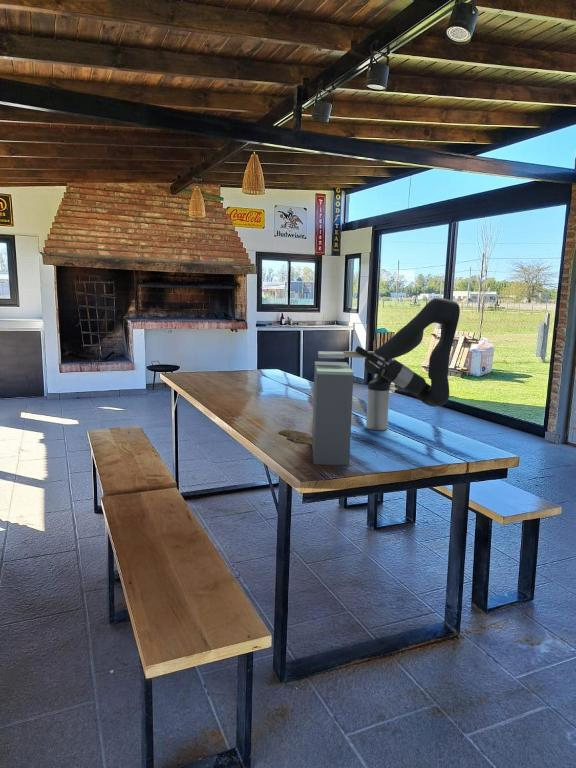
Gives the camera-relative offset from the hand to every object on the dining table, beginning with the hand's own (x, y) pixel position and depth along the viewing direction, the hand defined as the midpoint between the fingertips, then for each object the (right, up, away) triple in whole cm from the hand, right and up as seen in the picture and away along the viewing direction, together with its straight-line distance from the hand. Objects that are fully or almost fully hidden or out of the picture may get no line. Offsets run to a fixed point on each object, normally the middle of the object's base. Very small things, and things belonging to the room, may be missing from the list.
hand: (356, 348), depth 195 cm
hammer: (-5, -3, +1) cm, 6 cm away
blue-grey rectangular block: (-10, -38, +4) cm, 39 cm away
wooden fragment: (-20, -35, +25) cm, 47 cm away
